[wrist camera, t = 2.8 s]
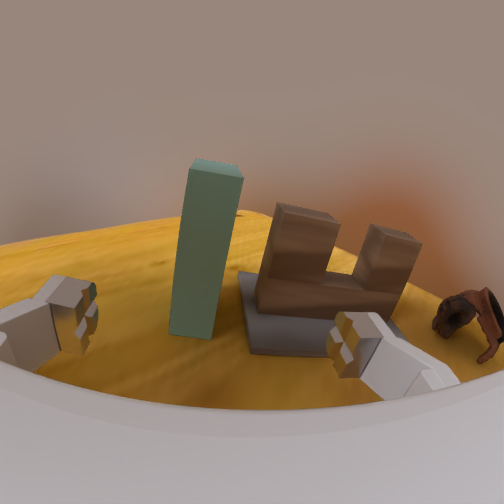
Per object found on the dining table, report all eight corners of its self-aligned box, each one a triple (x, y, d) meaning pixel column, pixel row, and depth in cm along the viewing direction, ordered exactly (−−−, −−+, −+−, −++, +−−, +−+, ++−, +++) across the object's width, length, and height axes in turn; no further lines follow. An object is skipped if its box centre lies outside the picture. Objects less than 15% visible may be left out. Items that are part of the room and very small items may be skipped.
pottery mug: (451, 318, 34) (496, 289, 28) (464, 379, 27) (516, 352, 22) (408, 296, 30) (463, 257, 24) (423, 372, 24) (491, 338, 18)
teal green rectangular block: (211, 339, 21) (243, 178, 17) (168, 334, 20) (189, 168, 16) (210, 296, 27) (236, 165, 22) (176, 292, 26) (196, 158, 21)
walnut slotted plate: (411, 354, 24) (458, 266, 20) (250, 353, 21) (286, 231, 17) (363, 292, 35) (390, 220, 31) (237, 275, 31) (257, 188, 28)
